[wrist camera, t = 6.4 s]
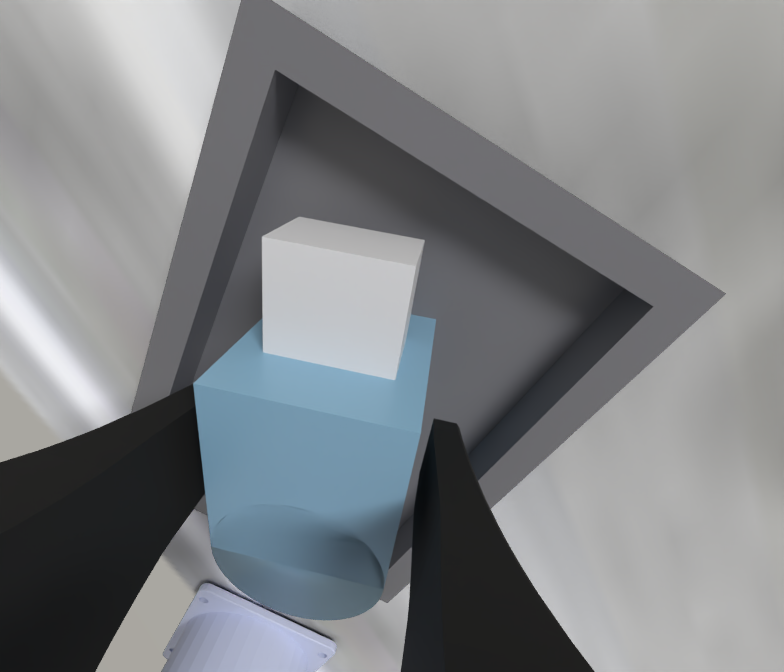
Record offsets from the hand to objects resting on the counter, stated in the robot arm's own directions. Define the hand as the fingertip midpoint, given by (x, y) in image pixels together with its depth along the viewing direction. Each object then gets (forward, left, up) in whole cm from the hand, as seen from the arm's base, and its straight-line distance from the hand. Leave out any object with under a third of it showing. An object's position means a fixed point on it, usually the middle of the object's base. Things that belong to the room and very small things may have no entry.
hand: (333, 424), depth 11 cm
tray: (0, 0, -3) cm, 3 cm away
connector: (0, 0, -2) cm, 2 cm away
